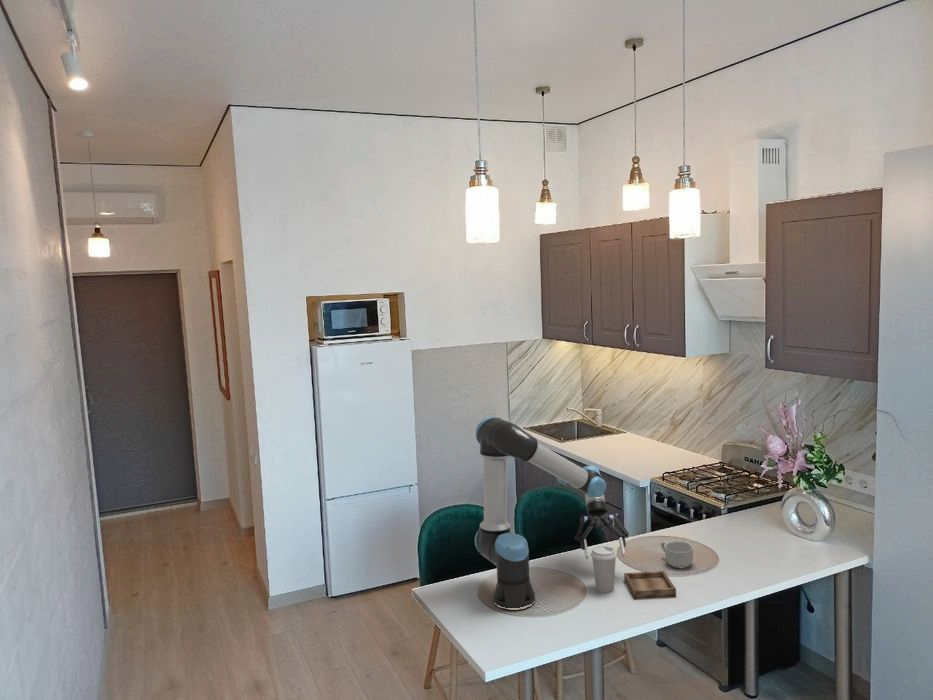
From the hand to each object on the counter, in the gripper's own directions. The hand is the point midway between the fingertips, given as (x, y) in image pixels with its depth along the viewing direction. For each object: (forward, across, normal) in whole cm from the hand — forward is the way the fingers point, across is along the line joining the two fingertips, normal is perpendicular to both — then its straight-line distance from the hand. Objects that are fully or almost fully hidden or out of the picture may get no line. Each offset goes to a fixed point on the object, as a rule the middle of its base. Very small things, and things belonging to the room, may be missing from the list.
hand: (605, 556), depth 258 cm
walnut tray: (+12, -15, -4) cm, 19 cm away
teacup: (-2, -31, -18) cm, 36 cm away
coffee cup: (+10, +1, -6) cm, 12 cm away
